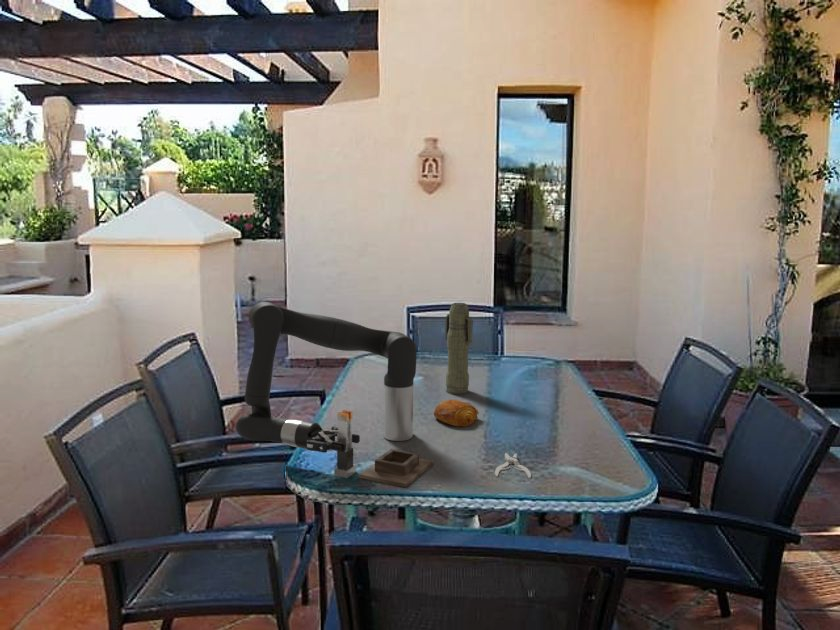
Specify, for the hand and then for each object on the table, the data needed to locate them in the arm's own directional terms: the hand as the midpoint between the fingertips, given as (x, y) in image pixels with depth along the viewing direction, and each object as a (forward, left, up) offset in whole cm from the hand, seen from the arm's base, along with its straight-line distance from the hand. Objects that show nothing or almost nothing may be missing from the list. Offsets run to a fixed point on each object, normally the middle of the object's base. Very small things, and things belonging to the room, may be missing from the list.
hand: (352, 443), depth 187 cm
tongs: (0, -2, -9) cm, 9 cm away
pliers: (-25, +38, -10) cm, 46 cm away
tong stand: (-8, +10, -9) cm, 16 cm away
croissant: (-57, +8, -9) cm, 58 cm away
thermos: (-90, -4, -9) cm, 91 cm away
